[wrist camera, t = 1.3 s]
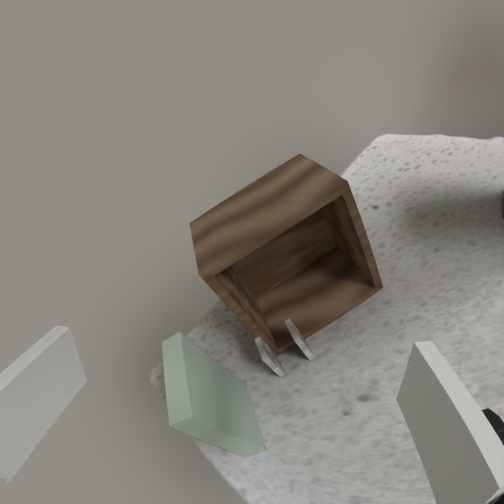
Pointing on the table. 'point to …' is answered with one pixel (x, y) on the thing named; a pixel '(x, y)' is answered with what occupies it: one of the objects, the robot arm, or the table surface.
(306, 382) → the table surface
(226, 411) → the cabinet door
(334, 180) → the cabinet
